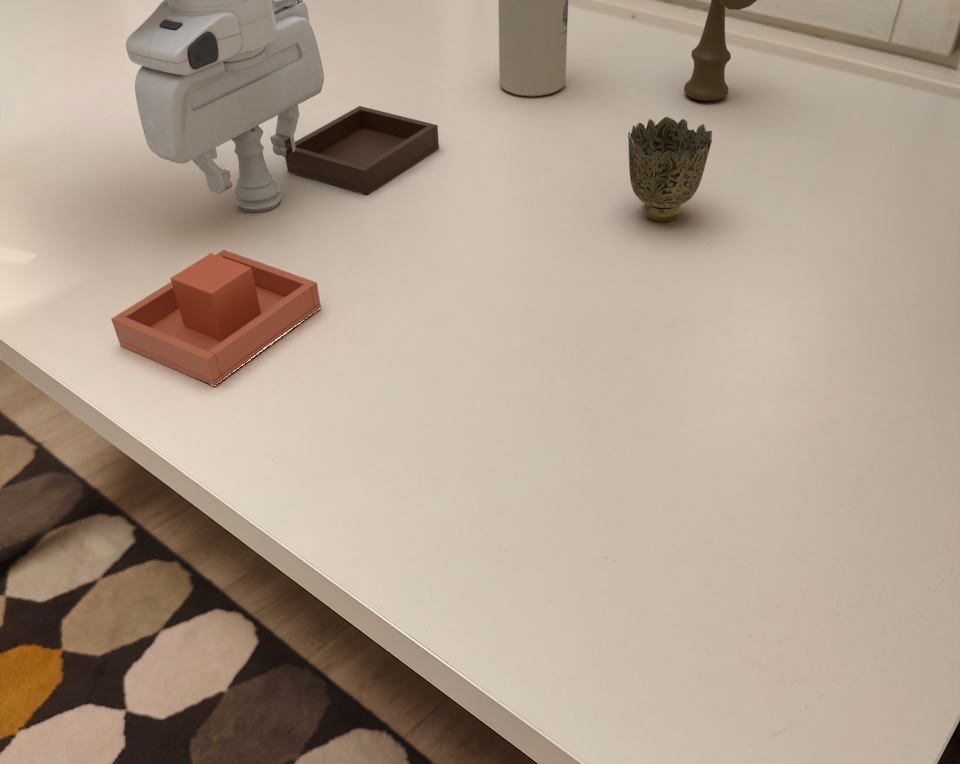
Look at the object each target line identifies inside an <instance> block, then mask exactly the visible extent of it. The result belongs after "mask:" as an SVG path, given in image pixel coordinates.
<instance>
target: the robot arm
mask: <svg viewBox="0 0 960 764" xmlns="http://www.w3.org/2000/svg"><path fill="white" fill-rule="evenodd" d="M125 49H126V53H127V56H128V58H129V60H130V61H131V63H134V64H136V65H138V66H141V67H140V68H139V69H138V71H137V73H136V75H135V80H134V94H135V101H136V106H137V110H138V115H139V119H140V123H141V127H142V131H143V135H144V138H145V141H146V144H147V147H148V148H149V150H150V152H152V153H153V154H154V155H155V156H157V157H159V158H160V159H163V160H166V161H169V162H172V163H175V164H180V165H185V164H187V163H189V162H191V161H192V162H193V163H194V164H195V165H196V166H197V167H198V168H199V169H200V170H201V171H202V173H204V175H205V180H206V183H207V187H208V189H209V190H210V191H211V192H213V193H216V194H222V193H224V192H226V191H227V190H229V189H230V188H232V187H233V181H232V180H231V179H232V176H231V171H230V169H226V168H221V166H220V167H219V166H218V165H217V163H216V162H215V161H214V160H216V159H217V158H218V153H217V148H218V147H220V146H222V145H223V144H225V143H227V142H229V141H232V140H231V139H233V138H235V137H237V136H239V135H241V134H243V133H244V132H246V131H248V130H250V129H252V128H254V127H256V126H259V125H261V124H264V123H265V122H267V121H269V120H271V119H273V118H275V117H277V119H276V121H277V122H276V128H275V134H273V135H271V136H270V143H271V144H272V151H273V153H274V155H276V156H281V157H283V158H285V156H287V155H289V154H291V153H292V152H294V151H295V150H296V147H295V141H296V140H295V133H296V129H297V126H298V122H299V117H300V110H299V105H300V104H302V103H304V102H306V101H308V100H309V99H311V98H313V97H315V96H317V95H319V94H321V92H322V90H323V87H324V83H325V74H324V68H323V63H322V58H321V52H320V50H319V46H318V41H317V38H316V35H315V31H314V29H313V26H312V25H311V23H310V18H309V10H308V7H307V4H306V3H305V2H304V0H163V1H162V2H160V4H159V5H158V6H157V8H155V10H154V11H153V12H152V13H151V15H149V16H148V18H146V20H144V21H143V22H142V23H141V24H140V26H138V27H137V29H135V30H134V31H133V32H132V33H131V34H130V35H129V36H128V37H127V39H126V41H125Z"/></svg>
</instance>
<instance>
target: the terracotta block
mask: <svg viewBox="0 0 960 764" xmlns="http://www.w3.org/2000/svg"><path fill="white" fill-rule="evenodd" d="M170 282H172V286H173V289H174V293H175V296H176V300H177V303H178V307H179V310H180V314H181V317H182V321H183V325H184V326H186V327H188V328H191V329H193V330H195V331H198V332H200V333H203V334H205V335H208V336H210V337H213V338H215V339H218V340H220V341H223V340H225V339H226V338H228V337H229V336H230V335H232V334H233V333H235V332H236V331H238V330H239V329H240V328H242V327H243V326H245V325H246V324H248V323H249V322H251V321H252V320H253V319H255V318H256V317H258V316H259V315H261V310H260V305H259V300H258V296H257V291H256V287H255V282H254V277H253V273H252V268H251V267H248V266H246V265H243V264H240V263H237V262H234V261H232V260H229V259H226V258H223V257H220V256H218V255H216V253H208V254H207V255H205V256H204V257H202V258H201V259H199V260H197V261H196V262H194V263H192V264H191V265H189V266H188V267H186V268H184V269H182V270H181V271H179V272H178V273H176V274H174V275H173V276H170Z"/></svg>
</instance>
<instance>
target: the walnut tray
mask: <svg viewBox="0 0 960 764" xmlns="http://www.w3.org/2000/svg"><path fill="white" fill-rule="evenodd" d="M294 141H295V147H296V150H295V151H294V152H292V153H291V154H289V155H287V156H285V157H284V158H285V164H286V169H287V172H288V173H291V174H294V175H297V176H301V177H304V178H308V179H311V180H315V181H318V182H321V183H325V184H328V185H331V186H335V187H338V188H341V189H344V190H348V191H352V192H355V193H359V194H362V195H365V196H368V195H370V194H372V193H373V192H375V191H376V190H378V189H379V188H381V187H382V186H384V185H386V184H387V183H388V182H390V181H392V180H393V179H394V178H396V177H398V176H399V175H401V174H402V173H404V172H405V171H408V169H410V168H412V167H413V166H415V165H416V164H418V163H419V162H420V161H422V160H424V159H425V158H427V157H428V156H430V155H431V154H433V153H435V152H436V151H437V150H439V149H440V143H439V125H438V124H435V123H431V122H427V121H422V120H419V119H416V118H415V119H414V118H411V117H407V116H402V115H398V114H394V113H390V112H385V111H381V110H378V109H373V108H370V107H366V106H362V105H358V106H356V107H355V108H353V109H351V110H350V111H348V112H346V113H344V114H342V115H341V116H339V117H337V118H335V119H333V120H332V121H330V122H328V123H326V124H325V125H322V126H321V127H319V128H317V129H315V130H313V131H312V132H310V133H308V134H306V135H304V136H303V137H301V138H299V139H297V140H294Z"/></svg>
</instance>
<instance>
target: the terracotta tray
mask: <svg viewBox="0 0 960 764" xmlns="http://www.w3.org/2000/svg"><path fill="white" fill-rule="evenodd" d="M215 255H218V256H220V257H223V258H226V259H229V260H232V261H234V262H237V263H240V264H243V265H246V266H248V267H251V268H252V273H253V277H254V282H255V287H256V291H257V296H258V300H259V305H260V310H261V315H259V316H258V317H256V318H255V319H253V320H252V321H251V322H249V323H248V324H246V325H245V326H243V327H242V328H240V329H239V330H238V331H236V332H235V333H233V334H232V335H230V336H229V337H228V338H226V339H225V340H223V341H220V340H218V339H215V338H213V337H210V336H208V335H205V334H203V333H200V332H198V331H195V330H193V329H191V328H188V327H186V326H184V325H183V321H182V317H181V314H180V310H179V307H178V303H177V300H176V296H175V293H174V289H173V286H172V282H171V281H170V282H168V283H167V284H165V285H164V286H162V287H160V288H158V289H157V290H156V291H154V292H152V293H151V294H148V296H146V297H144V298H142V299H141V300H139V301H138V302H136V303H135V304H133V305H131V306H129V307H128V308H126V309H125V310H123V311H121V312H120V313H118V314H117V315H115V316H113V317H112V318H111V319H110V320H111V322H112V325H113V328H114V331H115V334H116V338H117V340H118V343H119V346H120V347H122V348H125V349H127V350H129V351H132V352H134V353H136V354H138V355H141V356H143V357H145V358H147V359H150V360H152V361H154V362H156V363H159V364H162V365H163V366H166V367H168V368H171V369H173V370H175V371H177V372H179V371H180V373H181V374H184V375H186V376H189V377H191V378H193V377H194V378H193V379H195V378H197V379H196V380H198V379H199V380H198V381H200V380H202V381H204V382H203V383H205V382H207V383H209V384H212V385H213V386H212V387H214V385H217V383H219V382H220V381H221V380H223V379H224V378H225V377H226V376H228V375H229V374H230V373H232V372H233V371H234V370H236V369H237V368H239V367H240V366H241V365H242V364H244V363H246V362H247V361H248V360H249V359H251V357H253V356H254V355H256V354H257V353H258V352H259V351H261V350H263V348H264V347H266V346H267V345H269V344H270V343H272V342H273V341H275V339H277V338H278V337H280V336H281V335H283V334H284V333H285V332H287V331H288V330H290V329H291V328H293V327H294V326H295V325H297V324H298V323H300V322H301V321H303V320H305V319H306V318H307V317H309V315H311V314H313V313H314V312H315V311H317V310H318V309H319V308H321V309H322V305H321V300H320V293H319V288H318V283H317V281H314V280H311V279H309V278H305V277H303V276H300V275H297V274H294V273H291V272H289V271H286V270H283V269H280V268H277V267H274V266H272V265H268V264H265V263H263V262H260V261H257V260H255V259H252V258H249V257H246V256H243V255H240V254H237V253H235V252H231V251H229V250H226V249H222V250H221V251H219V252H218V253H215ZM202 381H201V382H202ZM207 383H206V384H207ZM209 384H208V385H209ZM217 386H218V385H217Z"/></svg>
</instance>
